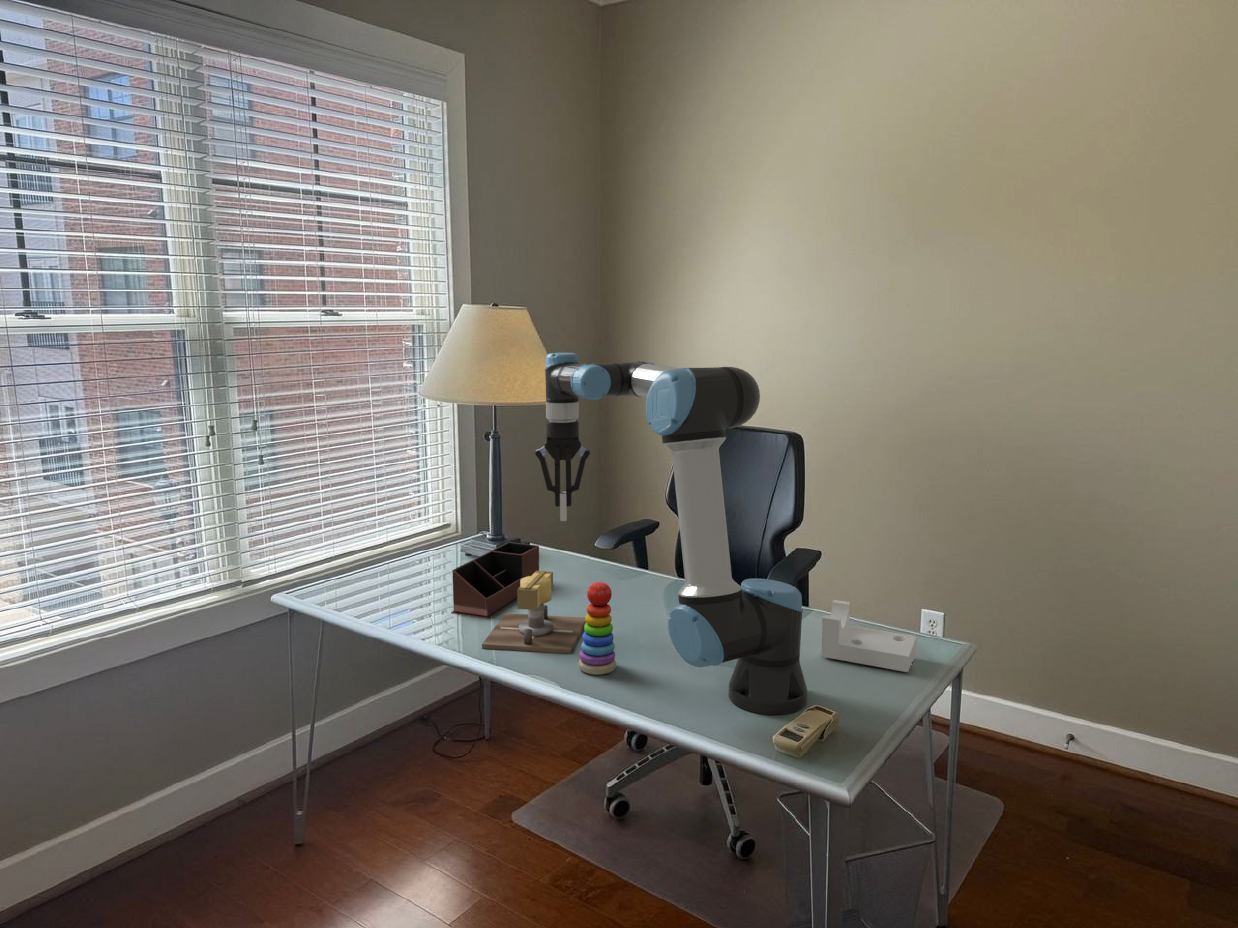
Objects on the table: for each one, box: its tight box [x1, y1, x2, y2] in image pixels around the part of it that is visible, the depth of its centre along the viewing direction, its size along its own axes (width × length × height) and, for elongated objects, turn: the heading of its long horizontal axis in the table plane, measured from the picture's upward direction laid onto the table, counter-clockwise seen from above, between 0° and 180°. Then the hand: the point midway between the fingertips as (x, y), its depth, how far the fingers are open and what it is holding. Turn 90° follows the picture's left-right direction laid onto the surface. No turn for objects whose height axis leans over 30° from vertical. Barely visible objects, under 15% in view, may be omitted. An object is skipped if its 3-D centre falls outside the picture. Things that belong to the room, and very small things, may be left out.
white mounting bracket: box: [821, 599, 917, 673], centre depth 192 cm, size 18×10×10 cm, turn 63°
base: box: [481, 603, 586, 654], centre depth 205 cm, size 20×20×8 cm
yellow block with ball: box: [516, 570, 554, 611], centre depth 204 cm, size 14×7×5 cm, turn 168°
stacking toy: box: [577, 581, 617, 676], centre depth 185 cm, size 8×8×19 cm
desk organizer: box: [450, 541, 540, 620], centre depth 230 cm, size 10×29×11 cm, turn 158°
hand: (563, 519), depth 210 cm, fingers closed
